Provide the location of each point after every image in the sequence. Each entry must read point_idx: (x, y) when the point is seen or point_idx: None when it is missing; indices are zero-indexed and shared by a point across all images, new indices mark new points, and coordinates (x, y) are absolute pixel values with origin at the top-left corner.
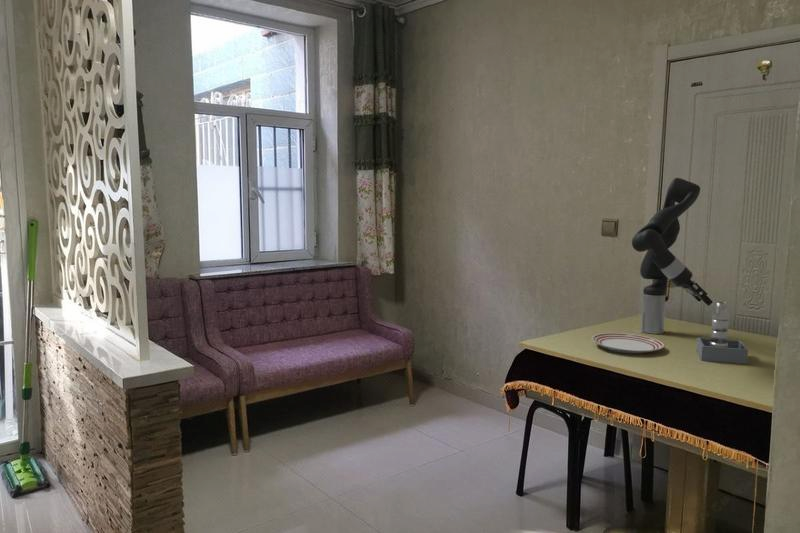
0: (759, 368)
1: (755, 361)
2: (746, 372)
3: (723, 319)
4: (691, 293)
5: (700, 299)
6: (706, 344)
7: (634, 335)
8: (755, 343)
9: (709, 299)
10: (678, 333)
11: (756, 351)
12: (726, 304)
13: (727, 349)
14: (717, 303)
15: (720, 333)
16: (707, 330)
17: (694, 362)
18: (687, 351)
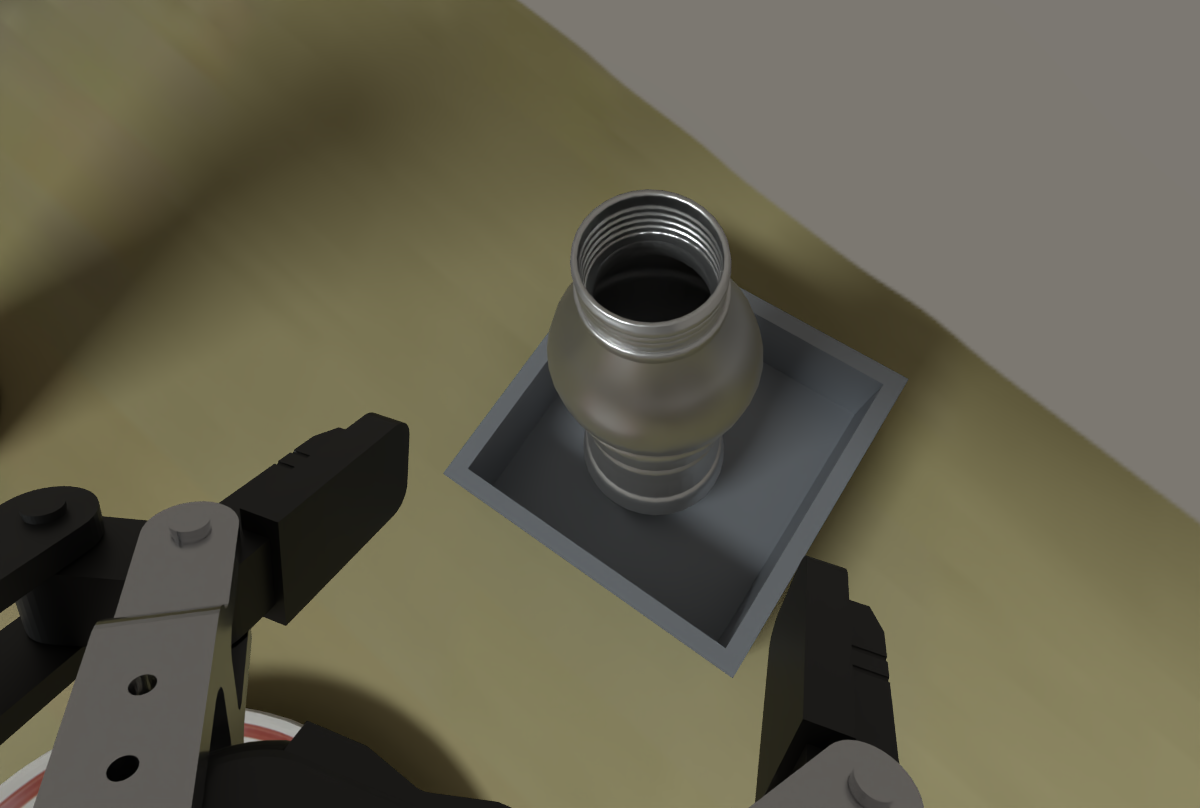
0: (970, 404)
1: (805, 305)
2: (1063, 570)
3: (753, 394)
4: (247, 649)
5: (397, 473)
6: (510, 439)
7: (6, 805)
8: (440, 24)
9: (888, 672)
10: (53, 280)
11: (595, 137)
12: (719, 233)
13: (832, 504)
14: (648, 331)
15: (712, 446)
16: (89, 67)
17: (754, 767)
18: (464, 574)
